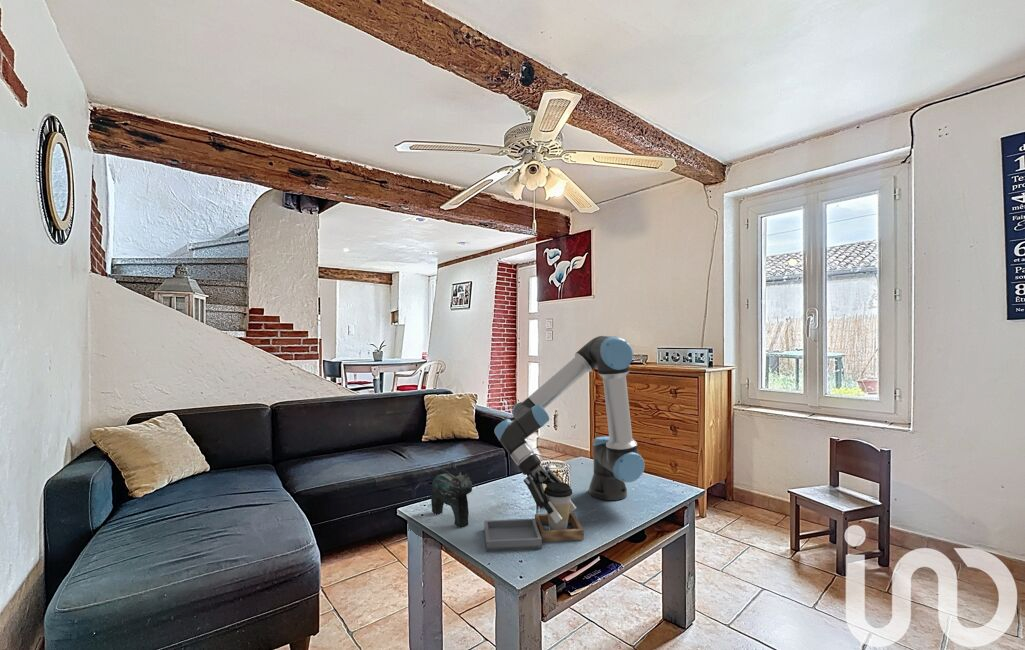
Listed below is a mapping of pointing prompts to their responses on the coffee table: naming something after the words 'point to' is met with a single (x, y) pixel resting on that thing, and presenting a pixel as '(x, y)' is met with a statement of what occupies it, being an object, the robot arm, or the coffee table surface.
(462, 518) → the dark green textured figure
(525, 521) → the tray
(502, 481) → the coffee table surface
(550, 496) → the coffee cup
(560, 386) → the robot arm
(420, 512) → the coffee table surface
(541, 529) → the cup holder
